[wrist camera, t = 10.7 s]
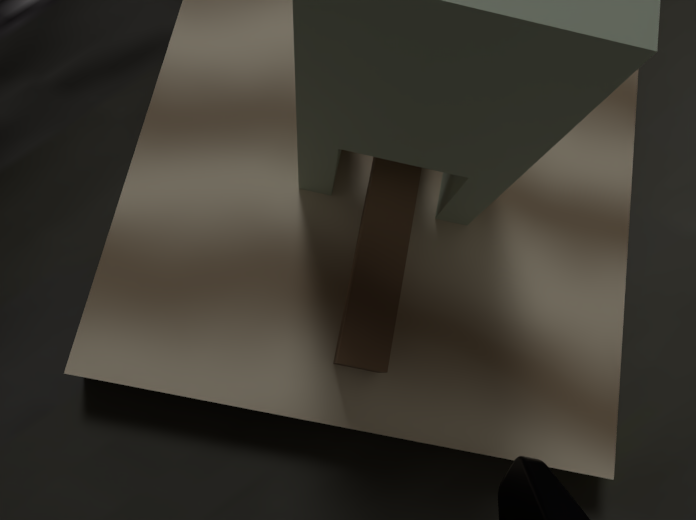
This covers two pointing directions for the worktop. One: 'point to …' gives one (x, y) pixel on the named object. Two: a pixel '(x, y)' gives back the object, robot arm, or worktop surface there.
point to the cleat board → (288, 249)
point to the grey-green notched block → (457, 84)
